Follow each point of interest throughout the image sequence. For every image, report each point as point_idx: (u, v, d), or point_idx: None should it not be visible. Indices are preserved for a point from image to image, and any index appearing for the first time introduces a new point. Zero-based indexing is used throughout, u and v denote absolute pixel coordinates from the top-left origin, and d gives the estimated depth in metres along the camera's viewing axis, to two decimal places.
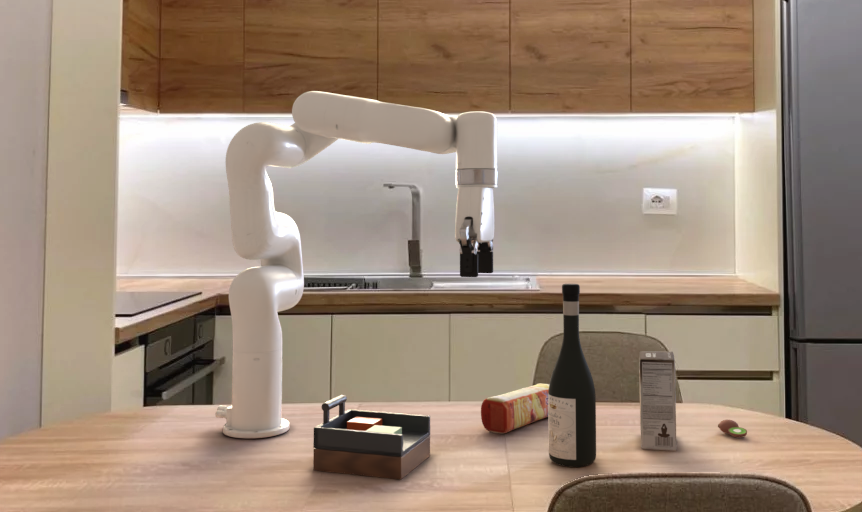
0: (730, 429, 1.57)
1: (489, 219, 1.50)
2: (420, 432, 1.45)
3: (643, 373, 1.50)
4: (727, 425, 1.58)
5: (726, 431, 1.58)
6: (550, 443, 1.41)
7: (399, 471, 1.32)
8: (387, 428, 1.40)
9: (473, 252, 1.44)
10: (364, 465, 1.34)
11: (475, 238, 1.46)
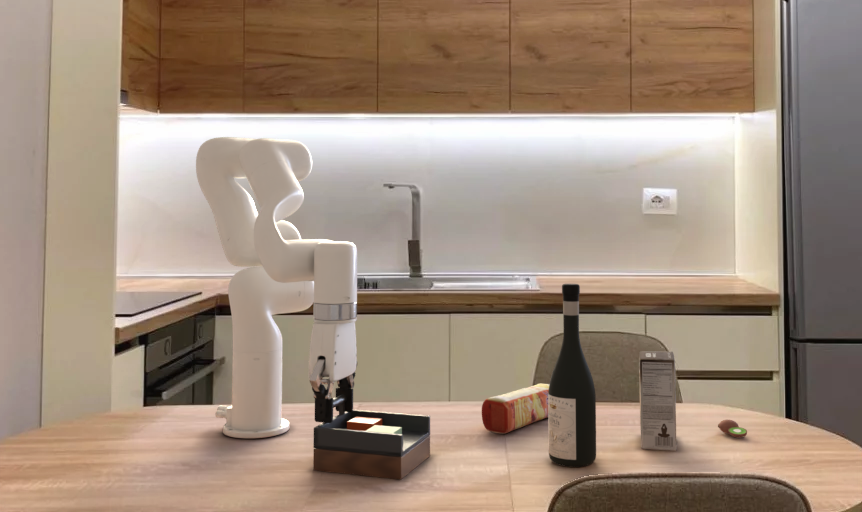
0: (730, 429, 1.57)
1: (347, 355, 1.44)
2: (420, 432, 1.45)
3: (643, 373, 1.50)
4: (727, 425, 1.58)
5: (726, 431, 1.58)
6: (550, 443, 1.41)
7: (399, 471, 1.32)
8: (387, 428, 1.40)
9: (327, 397, 1.39)
10: (364, 465, 1.34)
11: (329, 381, 1.40)
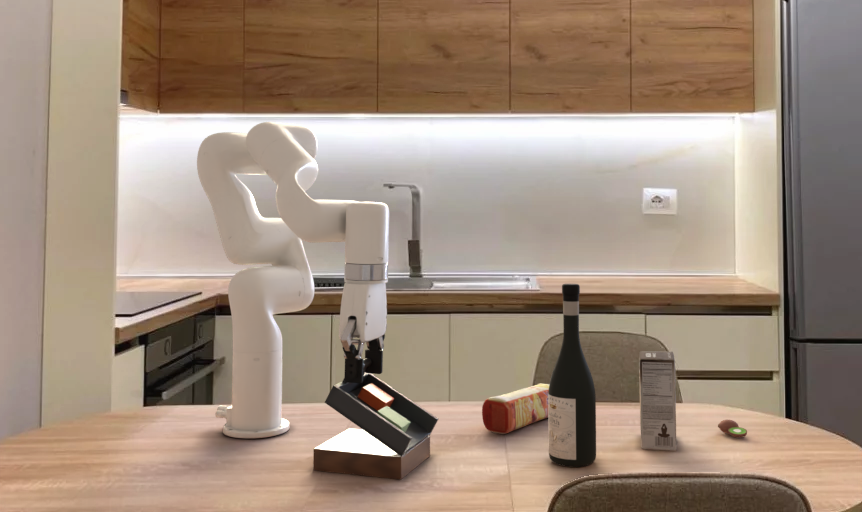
0: (730, 429, 1.57)
1: (377, 316, 1.42)
2: (422, 429, 1.44)
3: (643, 373, 1.50)
4: (727, 425, 1.58)
5: (726, 431, 1.58)
6: (550, 443, 1.41)
7: (399, 471, 1.32)
8: (397, 417, 1.39)
9: (357, 358, 1.38)
10: (364, 465, 1.34)
11: (360, 341, 1.39)
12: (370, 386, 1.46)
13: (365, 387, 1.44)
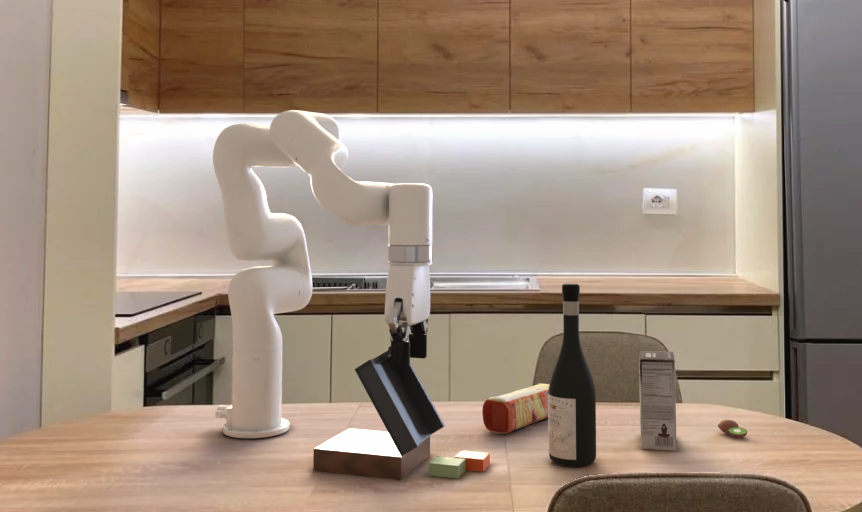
0: (730, 429, 1.57)
1: (422, 299, 1.40)
2: (426, 428, 1.44)
3: (643, 373, 1.50)
4: (727, 425, 1.58)
5: (726, 431, 1.58)
6: (550, 443, 1.41)
7: (399, 471, 1.32)
8: None
9: (404, 340, 1.35)
10: (364, 465, 1.34)
11: (406, 324, 1.36)
12: None
13: None
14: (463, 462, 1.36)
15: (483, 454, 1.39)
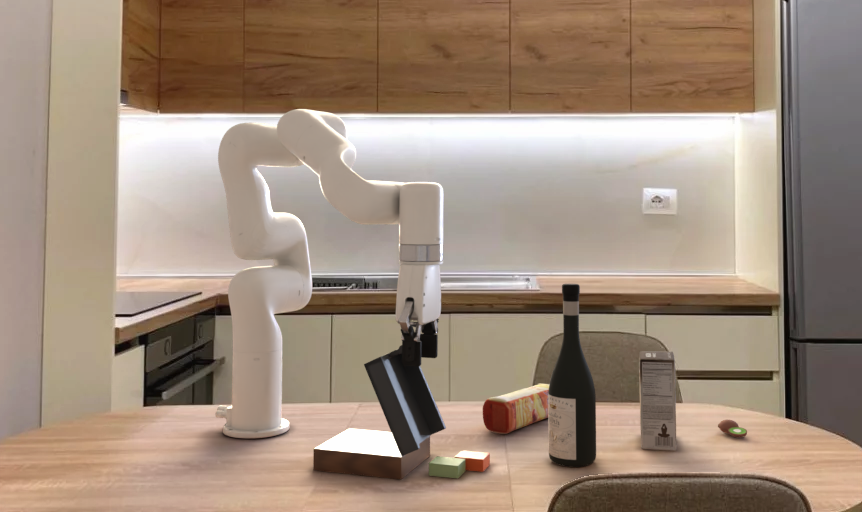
0: (730, 429, 1.57)
1: (433, 298, 1.39)
2: (427, 428, 1.44)
3: (643, 373, 1.50)
4: (727, 425, 1.58)
5: (726, 431, 1.58)
6: (550, 443, 1.41)
7: (399, 471, 1.32)
8: None
9: (415, 340, 1.35)
10: (364, 465, 1.34)
11: (417, 323, 1.36)
12: None
13: None
14: (463, 462, 1.36)
15: (483, 454, 1.39)
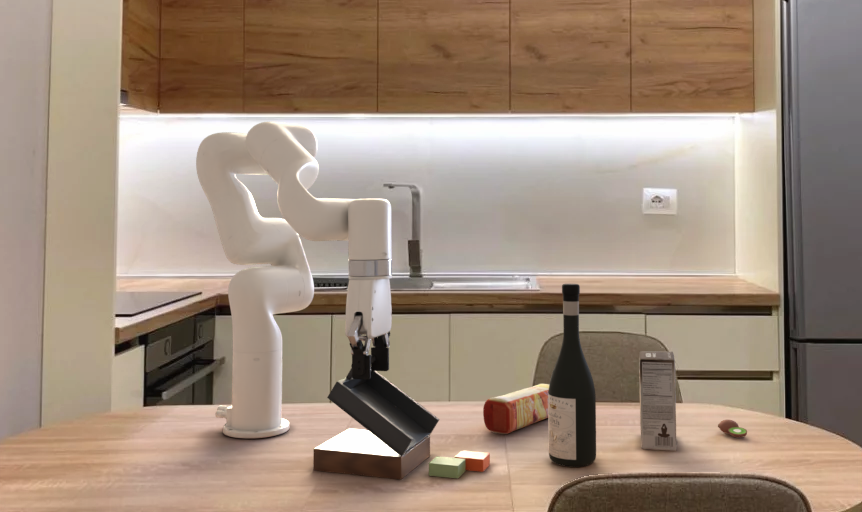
0: (730, 429, 1.57)
1: (383, 312, 1.42)
2: (423, 429, 1.44)
3: (643, 373, 1.50)
4: (727, 425, 1.58)
5: (726, 431, 1.58)
6: (550, 443, 1.41)
7: (399, 471, 1.32)
8: None
9: (365, 353, 1.37)
10: (364, 465, 1.34)
11: (367, 337, 1.39)
12: None
13: None
14: (463, 462, 1.36)
15: (483, 454, 1.39)
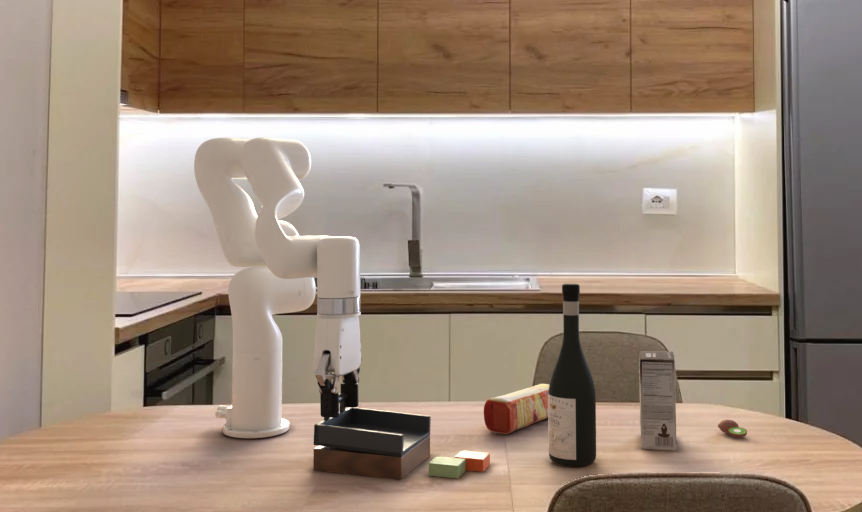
0: (730, 429, 1.57)
1: (351, 349, 1.44)
2: (420, 432, 1.45)
3: (643, 373, 1.50)
4: (727, 425, 1.58)
5: (726, 431, 1.58)
6: (550, 443, 1.41)
7: (399, 471, 1.32)
8: None
9: (332, 392, 1.39)
10: (364, 465, 1.34)
11: (335, 375, 1.40)
12: None
13: None
14: (463, 462, 1.36)
15: (483, 454, 1.39)
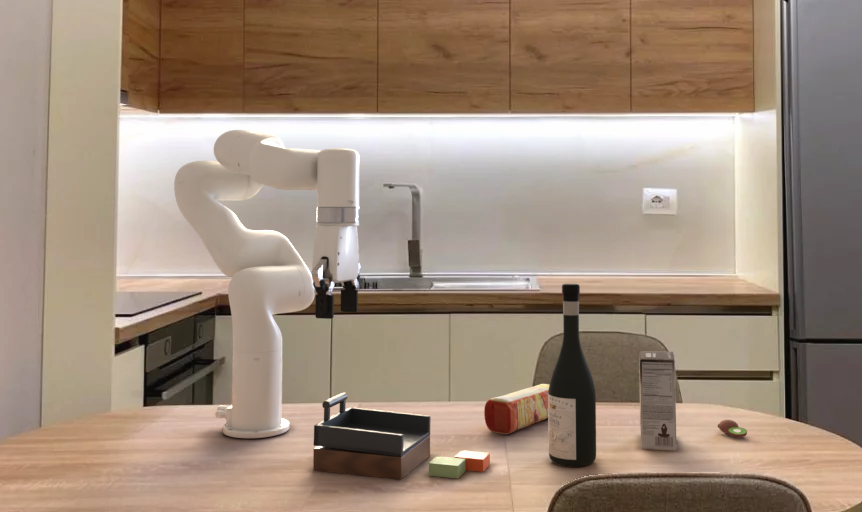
0: (730, 429, 1.57)
1: (349, 258, 1.47)
2: (420, 432, 1.45)
3: (643, 373, 1.50)
4: (727, 425, 1.58)
5: (726, 431, 1.58)
6: (550, 443, 1.41)
7: (399, 471, 1.32)
8: None
9: (327, 293, 1.41)
10: (364, 465, 1.34)
11: (331, 278, 1.43)
12: None
13: None
14: (463, 462, 1.36)
15: (483, 454, 1.39)
